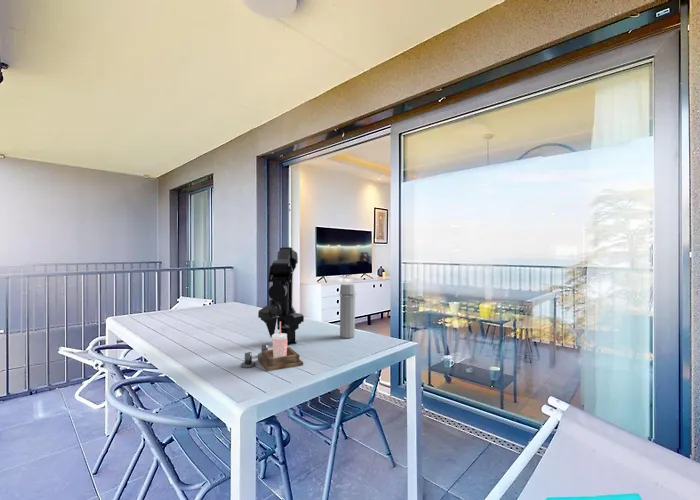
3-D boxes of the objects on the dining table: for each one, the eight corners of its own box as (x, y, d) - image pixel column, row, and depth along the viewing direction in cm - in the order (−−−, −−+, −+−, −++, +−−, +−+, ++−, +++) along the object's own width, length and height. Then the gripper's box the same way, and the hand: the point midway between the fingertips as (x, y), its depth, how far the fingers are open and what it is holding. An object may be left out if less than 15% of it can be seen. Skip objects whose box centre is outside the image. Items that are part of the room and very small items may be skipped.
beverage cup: (273, 356, 127) (274, 319, 127) (290, 357, 126) (290, 319, 126) (269, 362, 120) (269, 323, 121) (286, 362, 120) (286, 323, 120)
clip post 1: (253, 362, 123) (253, 350, 123) (257, 366, 119) (257, 354, 119) (239, 364, 121) (239, 352, 121) (242, 369, 116) (242, 356, 116)
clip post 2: (269, 353, 134) (269, 342, 134) (272, 356, 130) (272, 345, 130) (256, 355, 132) (256, 343, 132) (259, 358, 127) (259, 347, 127)
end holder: (291, 355, 132) (291, 346, 132) (303, 365, 121) (303, 355, 121) (257, 360, 126) (257, 350, 126) (267, 371, 115) (267, 360, 115)
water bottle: (340, 334, 165) (340, 283, 165) (356, 335, 164) (356, 283, 164) (337, 339, 156) (337, 285, 156) (354, 340, 155) (354, 285, 155)
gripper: (246, 296, 122) (245, 339, 122) (281, 302, 111) (280, 349, 111) (270, 293, 131) (270, 333, 131) (304, 298, 120) (304, 341, 120)
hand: (280, 339), depth 123 cm, fingers open, 9 cm apart
